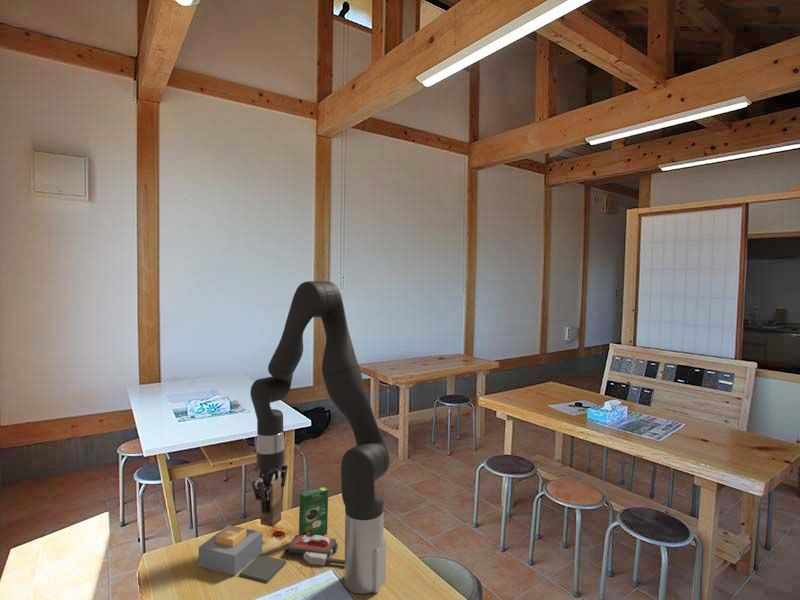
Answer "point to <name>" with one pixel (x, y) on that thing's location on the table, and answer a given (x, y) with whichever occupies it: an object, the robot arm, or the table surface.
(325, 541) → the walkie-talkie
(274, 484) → the tall cardboard-brown rectangular prism
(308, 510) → the coffee box
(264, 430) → the robot arm
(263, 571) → the mat
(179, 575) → the table surface
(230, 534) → the button
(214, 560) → the box
